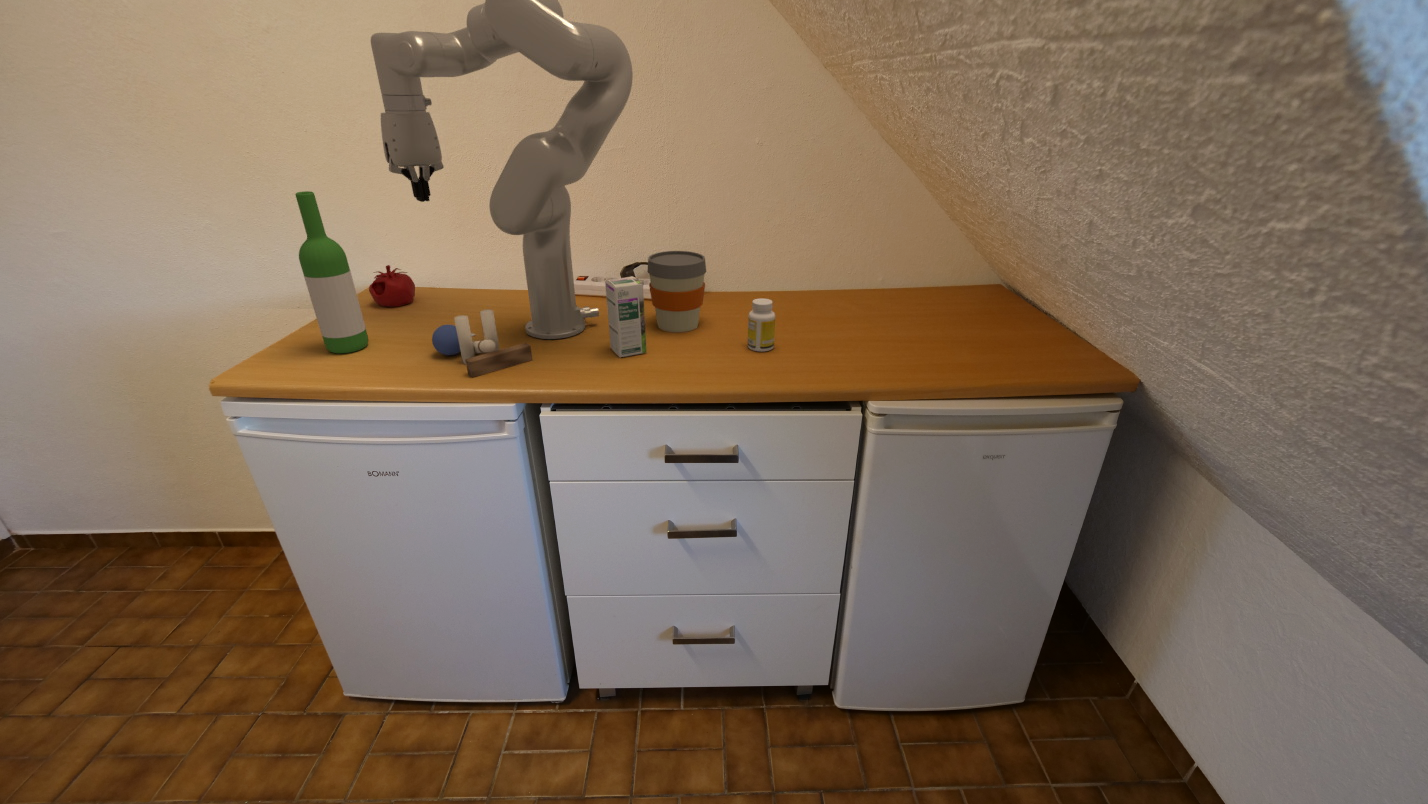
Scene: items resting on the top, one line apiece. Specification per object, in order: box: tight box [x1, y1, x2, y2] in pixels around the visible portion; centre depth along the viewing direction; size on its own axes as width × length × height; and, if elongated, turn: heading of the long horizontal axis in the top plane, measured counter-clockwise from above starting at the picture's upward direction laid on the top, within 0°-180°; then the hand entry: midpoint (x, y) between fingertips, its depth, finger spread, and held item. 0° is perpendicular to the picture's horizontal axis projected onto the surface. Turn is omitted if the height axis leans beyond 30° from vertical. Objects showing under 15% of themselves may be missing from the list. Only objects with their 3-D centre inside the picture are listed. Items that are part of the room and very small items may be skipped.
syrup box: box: [604, 276, 647, 359], centre depth 122 cm, size 6×6×14 cm
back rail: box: [465, 342, 534, 379], centre depth 118 cm, size 12×2×3 cm, turn 132°
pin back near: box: [479, 308, 501, 353], centre depth 121 cm, size 2×2×9 cm
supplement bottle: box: [747, 298, 776, 353], centre depth 126 cm, size 5×5×10 cm
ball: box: [431, 324, 461, 356], centre depth 122 cm, size 6×6×6 cm
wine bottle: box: [294, 190, 369, 354], centre depth 119 cm, size 8×8×30 cm
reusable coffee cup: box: [647, 250, 707, 333], centre depth 135 cm, size 12×13×15 cm
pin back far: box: [453, 314, 476, 365], centre depth 118 cm, size 2×2×9 cm
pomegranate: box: [368, 264, 416, 308], centre depth 148 cm, size 10×10×9 cm
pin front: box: [472, 339, 496, 355], centre depth 120 cm, size 2×2×9 cm
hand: (423, 200), depth 133 cm, fingers closed
